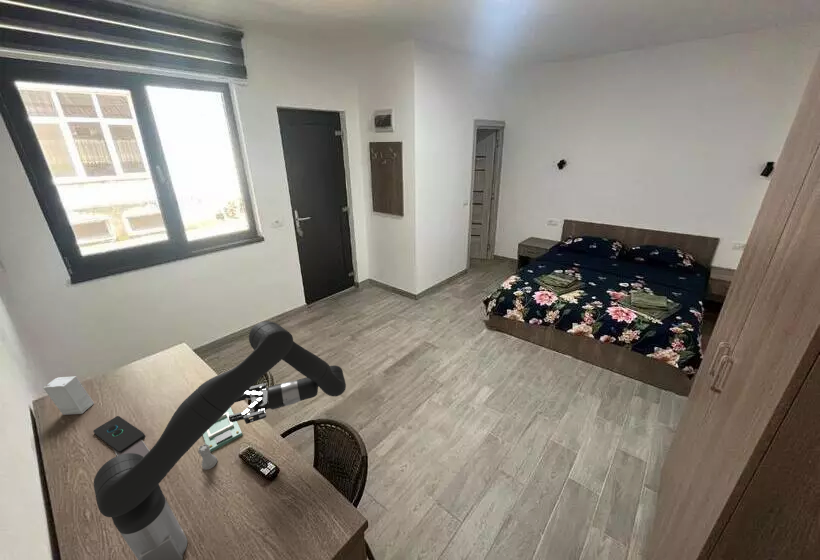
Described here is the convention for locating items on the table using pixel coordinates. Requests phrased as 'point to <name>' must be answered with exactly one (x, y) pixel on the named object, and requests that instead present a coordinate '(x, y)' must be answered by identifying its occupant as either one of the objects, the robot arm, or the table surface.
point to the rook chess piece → (207, 457)
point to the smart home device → (119, 434)
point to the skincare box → (69, 395)
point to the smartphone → (135, 449)
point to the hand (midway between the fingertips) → (231, 409)
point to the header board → (222, 432)
